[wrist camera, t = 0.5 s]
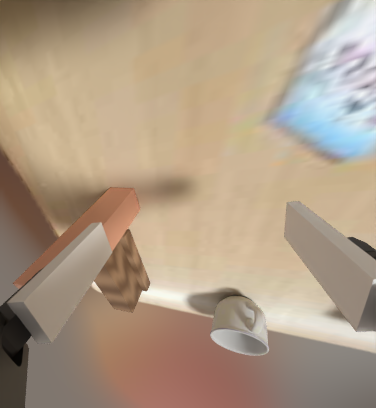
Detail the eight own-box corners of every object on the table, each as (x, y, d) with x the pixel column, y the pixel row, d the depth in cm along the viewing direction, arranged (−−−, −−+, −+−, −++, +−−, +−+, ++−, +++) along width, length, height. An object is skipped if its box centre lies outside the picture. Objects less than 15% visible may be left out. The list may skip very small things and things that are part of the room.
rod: (110, 187, 29) (12, 283, 16) (133, 188, 28) (49, 290, 15) (118, 207, 31) (38, 305, 19) (140, 209, 30) (71, 312, 18)
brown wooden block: (96, 226, 35) (70, 256, 30) (129, 229, 34) (108, 261, 28) (124, 279, 46) (109, 307, 41) (150, 283, 44) (138, 314, 39)
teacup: (244, 318, 45) (244, 359, 39) (205, 300, 44) (200, 340, 38) (287, 299, 37) (297, 348, 30) (240, 276, 35) (241, 322, 29)
